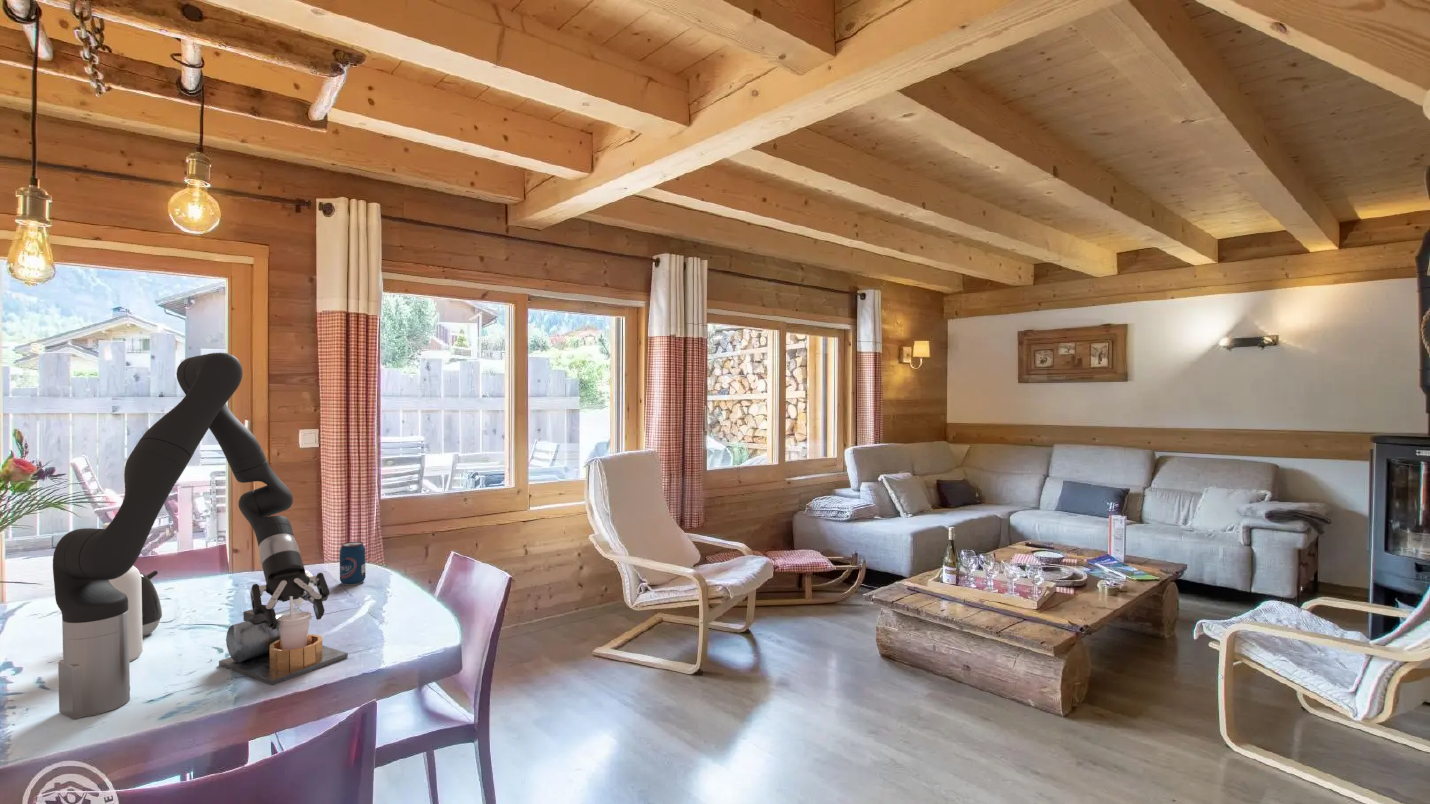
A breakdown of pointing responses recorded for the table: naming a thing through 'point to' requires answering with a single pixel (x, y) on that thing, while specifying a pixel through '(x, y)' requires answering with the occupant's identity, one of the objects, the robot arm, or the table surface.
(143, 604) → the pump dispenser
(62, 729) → the table surface
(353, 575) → the soda can
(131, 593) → the alcohol
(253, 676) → the motor
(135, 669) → the table surface
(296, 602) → the spinning top
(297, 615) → the smoothie
